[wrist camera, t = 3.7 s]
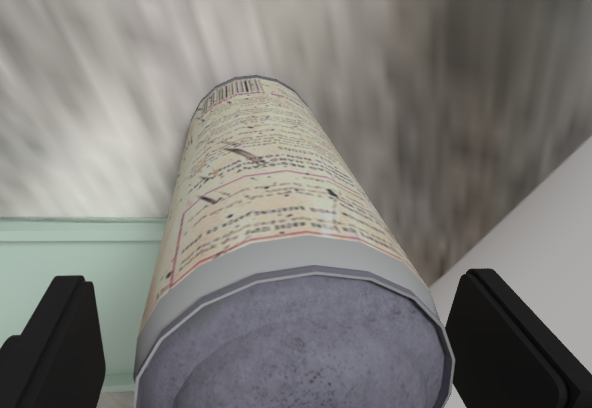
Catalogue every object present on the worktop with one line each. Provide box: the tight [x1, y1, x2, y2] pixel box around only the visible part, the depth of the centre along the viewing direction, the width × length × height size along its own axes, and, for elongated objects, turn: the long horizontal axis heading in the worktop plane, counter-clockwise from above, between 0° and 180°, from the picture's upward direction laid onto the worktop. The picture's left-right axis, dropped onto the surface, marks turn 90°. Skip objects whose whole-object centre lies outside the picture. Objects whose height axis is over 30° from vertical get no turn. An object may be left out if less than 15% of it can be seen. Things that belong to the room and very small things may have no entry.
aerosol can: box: [133, 75, 455, 408], centre depth 15 cm, size 7×7×20 cm
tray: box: [0, 217, 167, 393], centre depth 26 cm, size 12×12×2 cm
